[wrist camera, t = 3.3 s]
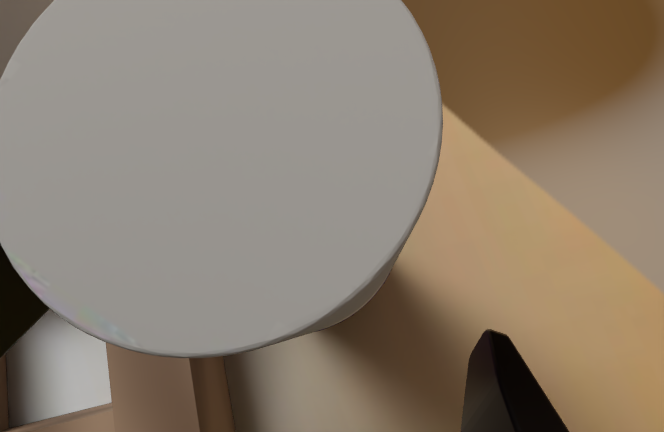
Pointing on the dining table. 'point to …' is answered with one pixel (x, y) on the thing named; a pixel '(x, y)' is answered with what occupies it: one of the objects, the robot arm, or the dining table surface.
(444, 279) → the dining table surface
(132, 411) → the frame
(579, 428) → the dining table surface
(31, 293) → the robot arm
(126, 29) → the container
